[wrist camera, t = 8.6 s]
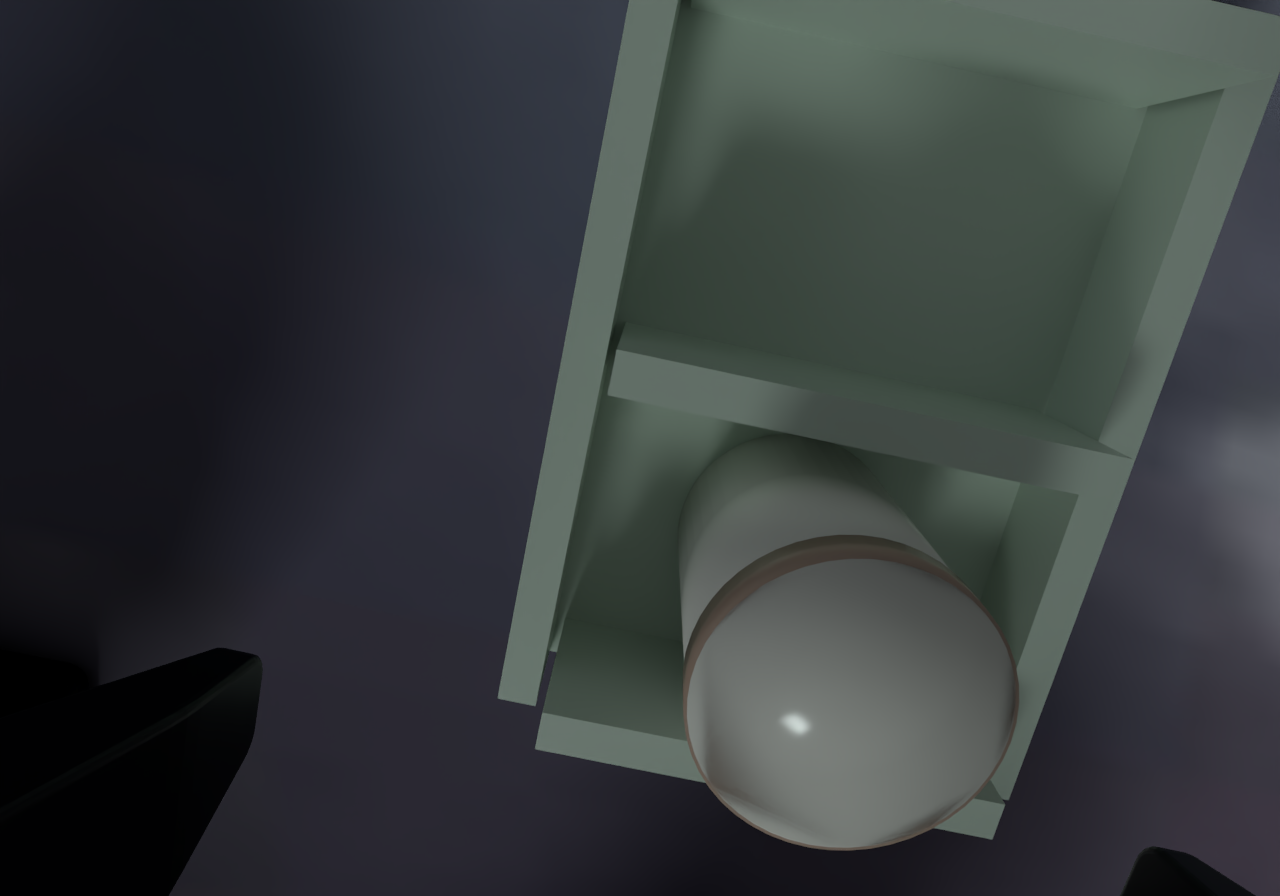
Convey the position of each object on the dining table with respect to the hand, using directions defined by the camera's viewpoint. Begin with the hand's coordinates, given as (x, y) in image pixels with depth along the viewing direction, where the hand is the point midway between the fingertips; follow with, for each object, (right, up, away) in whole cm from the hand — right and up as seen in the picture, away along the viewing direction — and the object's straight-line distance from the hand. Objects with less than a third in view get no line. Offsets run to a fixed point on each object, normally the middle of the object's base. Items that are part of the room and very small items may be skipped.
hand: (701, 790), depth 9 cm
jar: (+3, +1, +11) cm, 11 cm away
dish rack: (+3, +5, +11) cm, 12 cm away
